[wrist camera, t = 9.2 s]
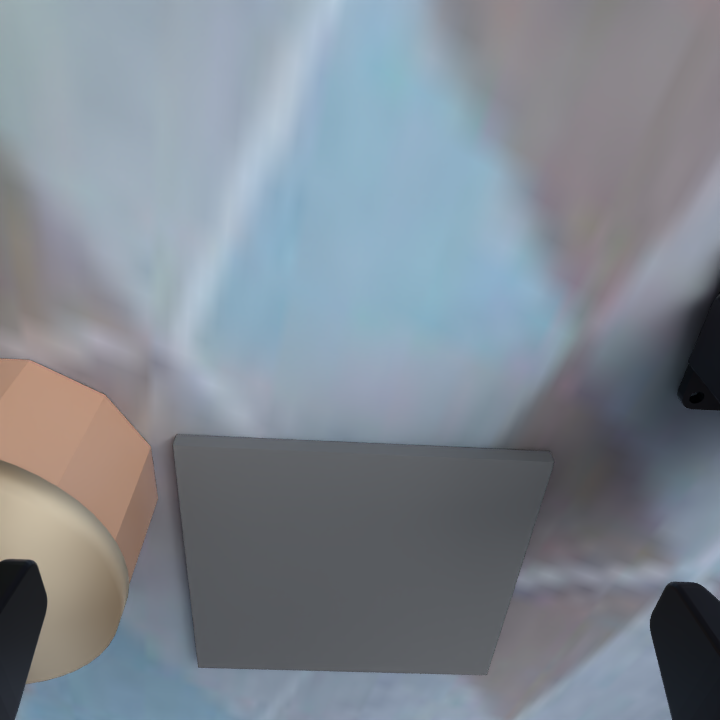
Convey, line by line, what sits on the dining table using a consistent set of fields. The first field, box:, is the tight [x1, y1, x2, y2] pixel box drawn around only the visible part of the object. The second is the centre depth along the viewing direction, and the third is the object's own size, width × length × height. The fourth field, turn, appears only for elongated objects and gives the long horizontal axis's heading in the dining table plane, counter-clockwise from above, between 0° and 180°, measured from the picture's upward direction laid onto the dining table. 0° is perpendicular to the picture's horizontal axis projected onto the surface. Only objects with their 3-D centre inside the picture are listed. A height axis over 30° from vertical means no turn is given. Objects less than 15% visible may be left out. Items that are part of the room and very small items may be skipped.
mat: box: [173, 435, 554, 675], centre depth 28 cm, size 14×14×1 cm
